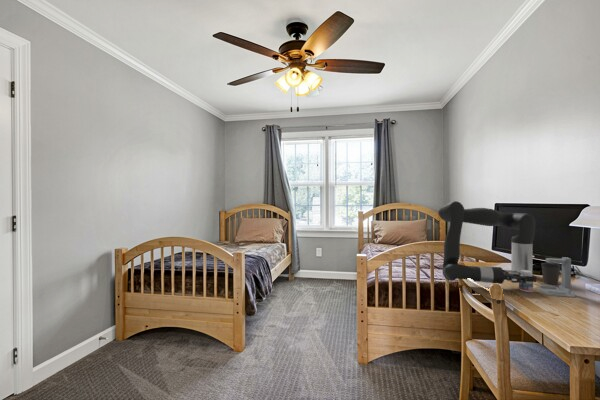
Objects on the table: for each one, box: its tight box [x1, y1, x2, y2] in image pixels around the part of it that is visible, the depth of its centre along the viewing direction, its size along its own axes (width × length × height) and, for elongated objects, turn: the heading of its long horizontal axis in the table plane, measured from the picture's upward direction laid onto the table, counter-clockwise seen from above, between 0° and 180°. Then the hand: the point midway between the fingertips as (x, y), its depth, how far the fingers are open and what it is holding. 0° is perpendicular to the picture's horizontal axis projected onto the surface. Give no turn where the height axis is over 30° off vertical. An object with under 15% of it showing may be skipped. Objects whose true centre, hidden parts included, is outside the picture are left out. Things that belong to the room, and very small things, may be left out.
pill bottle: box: [518, 270, 534, 293], centre depth 138 cm, size 5×5×9 cm
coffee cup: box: [540, 261, 562, 286], centre depth 149 cm, size 8×8×10 cm
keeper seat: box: [536, 256, 576, 298], centre depth 135 cm, size 10×10×16 cm
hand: (532, 277), depth 137 cm, fingers open, 5 cm apart
